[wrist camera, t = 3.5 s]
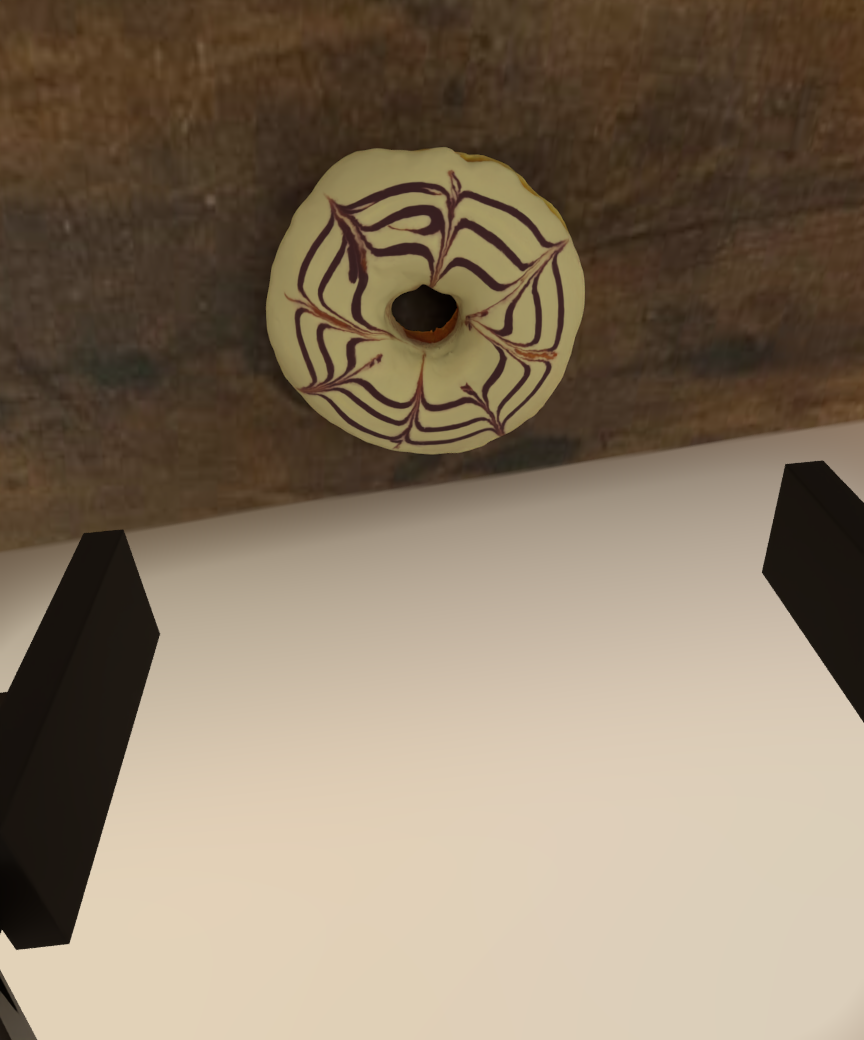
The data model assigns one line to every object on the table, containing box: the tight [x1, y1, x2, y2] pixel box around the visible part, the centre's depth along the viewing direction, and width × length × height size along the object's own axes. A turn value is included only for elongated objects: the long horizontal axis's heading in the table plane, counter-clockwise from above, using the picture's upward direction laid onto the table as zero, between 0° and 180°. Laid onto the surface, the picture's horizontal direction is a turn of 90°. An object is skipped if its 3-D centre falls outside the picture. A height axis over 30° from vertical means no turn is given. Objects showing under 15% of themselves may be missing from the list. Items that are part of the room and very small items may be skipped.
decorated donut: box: [266, 147, 585, 454], centre depth 28 cm, size 10×11×4 cm
